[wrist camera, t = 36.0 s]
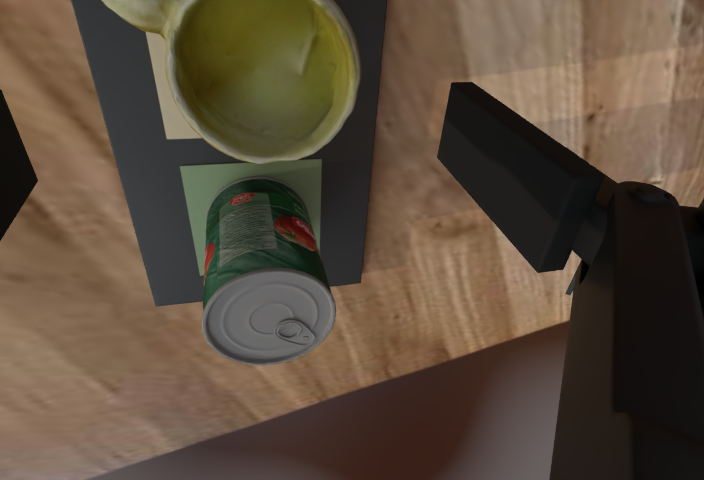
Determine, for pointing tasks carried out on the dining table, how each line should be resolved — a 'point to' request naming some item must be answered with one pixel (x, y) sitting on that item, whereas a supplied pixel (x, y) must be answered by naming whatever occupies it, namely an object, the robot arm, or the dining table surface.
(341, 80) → the mug
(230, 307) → the canned tomato
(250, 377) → the dining table surface
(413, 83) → the dining table surface
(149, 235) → the black board
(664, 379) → the robot arm
